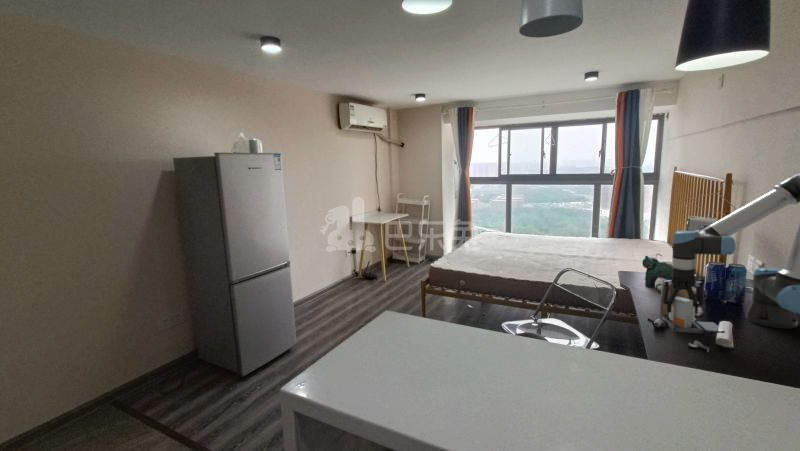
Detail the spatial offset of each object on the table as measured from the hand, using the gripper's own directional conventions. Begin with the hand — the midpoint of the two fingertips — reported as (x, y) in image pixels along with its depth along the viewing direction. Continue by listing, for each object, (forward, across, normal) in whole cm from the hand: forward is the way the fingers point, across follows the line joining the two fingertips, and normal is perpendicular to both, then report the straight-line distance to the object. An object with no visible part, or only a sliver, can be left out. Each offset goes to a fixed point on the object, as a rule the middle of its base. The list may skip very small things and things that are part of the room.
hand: (681, 319), depth 150 cm
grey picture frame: (+2, 0, 0) cm, 3 cm away
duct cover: (-6, 0, -7) cm, 10 cm away
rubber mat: (+2, -10, 0) cm, 10 cm away
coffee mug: (+3, -7, -32) cm, 32 cm away
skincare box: (+3, 0, 0) cm, 3 cm away
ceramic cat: (+3, -9, -50) cm, 51 cm away
